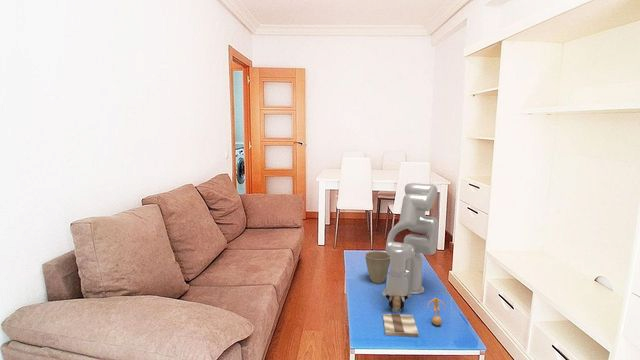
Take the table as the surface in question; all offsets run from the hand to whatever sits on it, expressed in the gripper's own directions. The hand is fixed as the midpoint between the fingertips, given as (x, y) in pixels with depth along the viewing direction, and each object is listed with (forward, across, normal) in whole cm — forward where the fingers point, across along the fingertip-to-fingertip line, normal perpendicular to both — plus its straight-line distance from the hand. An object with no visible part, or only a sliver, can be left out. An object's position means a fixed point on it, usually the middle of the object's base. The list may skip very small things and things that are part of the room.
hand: (396, 307), depth 177 cm
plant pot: (+2, +7, -36) cm, 37 cm away
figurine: (+2, -17, +10) cm, 20 cm away
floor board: (+2, 0, +14) cm, 14 cm away
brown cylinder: (+2, 0, 0) cm, 2 cm away
